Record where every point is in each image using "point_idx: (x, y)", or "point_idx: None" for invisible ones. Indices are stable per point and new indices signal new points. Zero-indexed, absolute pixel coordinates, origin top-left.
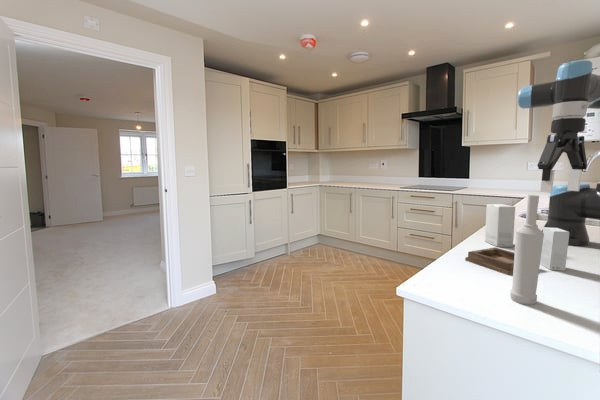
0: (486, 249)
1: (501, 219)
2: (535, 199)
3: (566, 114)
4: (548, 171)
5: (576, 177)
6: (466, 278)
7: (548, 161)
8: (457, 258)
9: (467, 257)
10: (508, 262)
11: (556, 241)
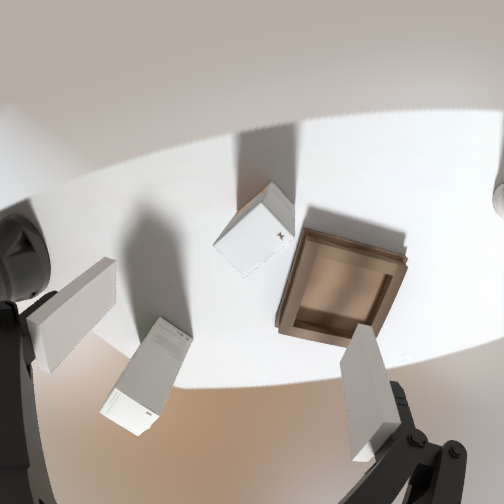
0: (316, 338)
1: (165, 383)
2: None
3: None
4: (411, 425)
5: (74, 310)
6: (469, 294)
7: (464, 472)
8: None
9: None
10: (394, 271)
11: (288, 219)
